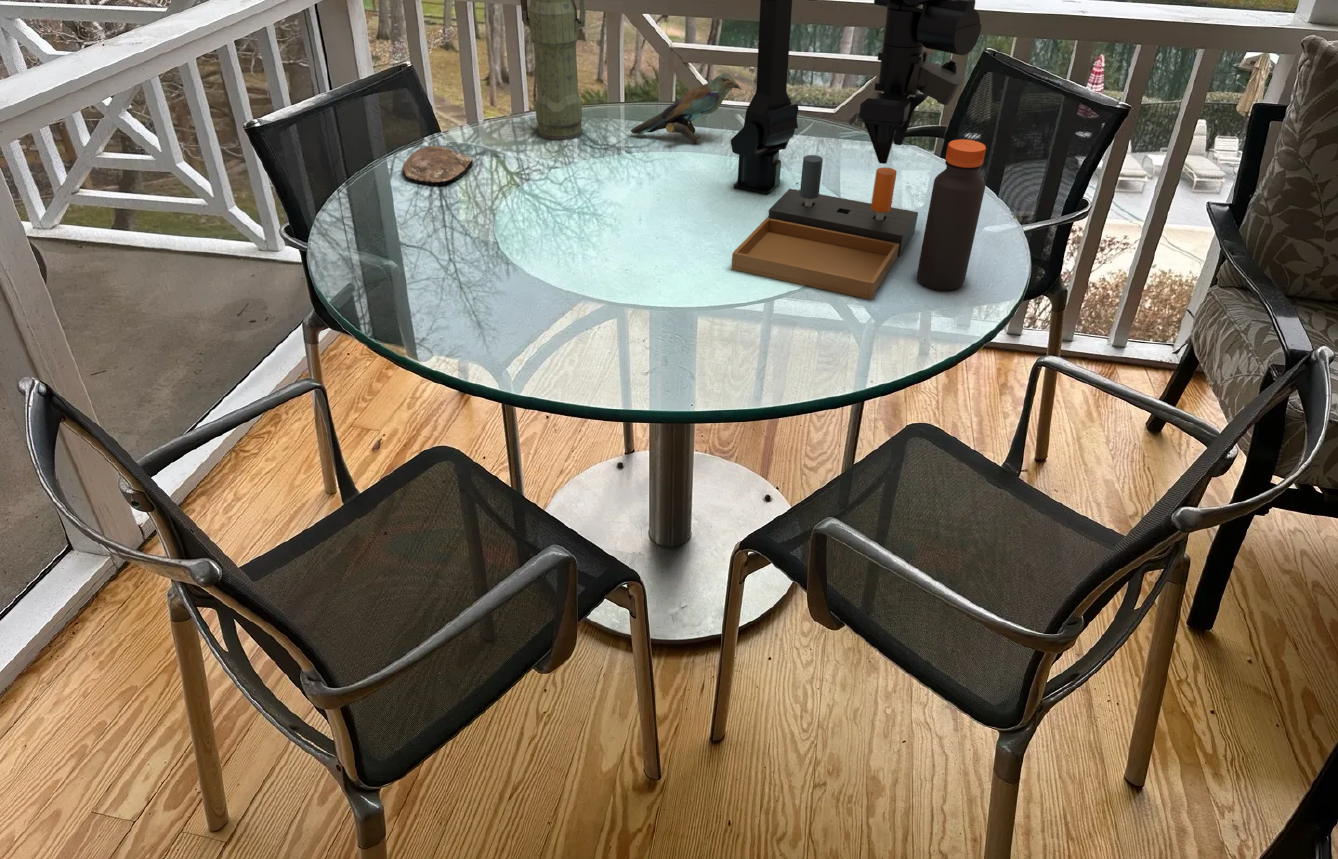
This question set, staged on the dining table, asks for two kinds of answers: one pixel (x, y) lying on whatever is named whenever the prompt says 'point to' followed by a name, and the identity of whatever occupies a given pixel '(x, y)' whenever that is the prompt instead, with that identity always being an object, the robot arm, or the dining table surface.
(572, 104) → the thermos
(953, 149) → the bottle
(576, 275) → the dining table surface
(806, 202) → the screwdriver
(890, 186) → the orange-handled tool
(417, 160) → the shell
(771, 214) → the rack
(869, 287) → the tray
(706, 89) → the bird figurine
